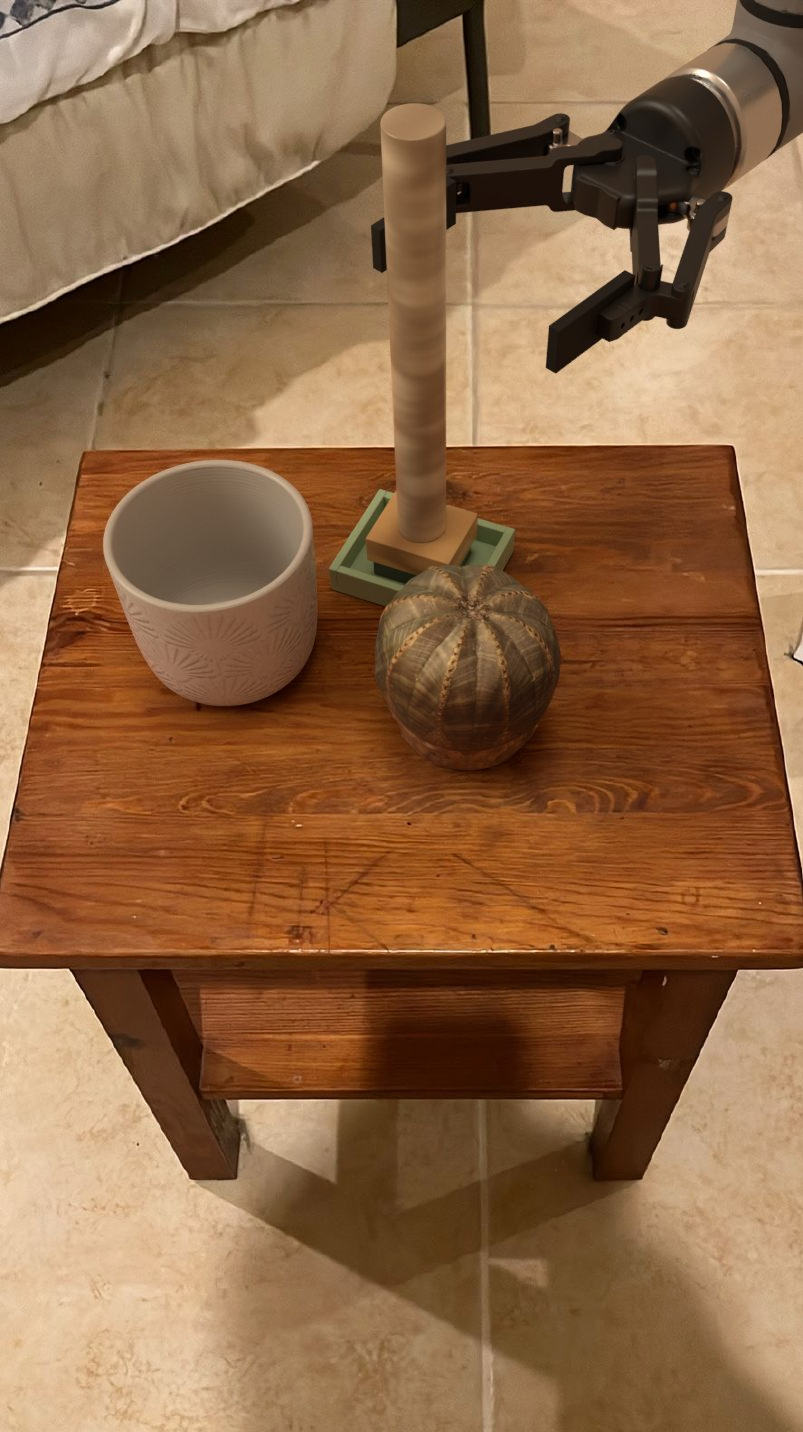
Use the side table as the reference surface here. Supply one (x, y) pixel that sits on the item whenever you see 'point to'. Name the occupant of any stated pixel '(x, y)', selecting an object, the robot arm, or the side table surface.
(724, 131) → the robot arm
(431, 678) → the brown ribbed round dome
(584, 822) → the side table surface
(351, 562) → the tray
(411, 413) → the paper towel holder
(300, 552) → the planter
